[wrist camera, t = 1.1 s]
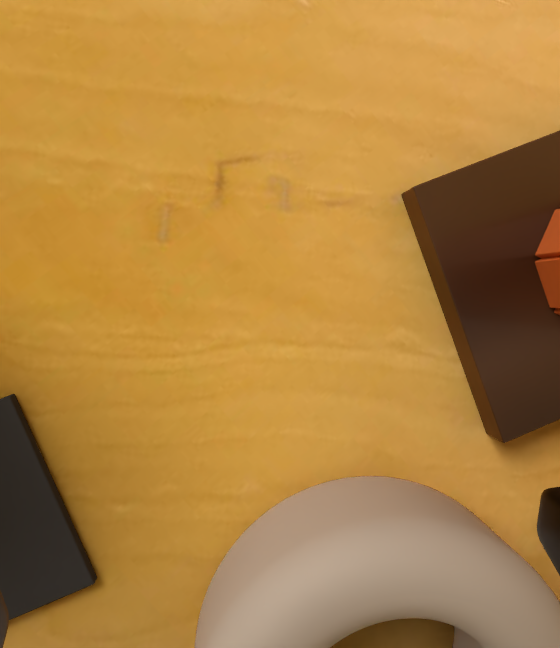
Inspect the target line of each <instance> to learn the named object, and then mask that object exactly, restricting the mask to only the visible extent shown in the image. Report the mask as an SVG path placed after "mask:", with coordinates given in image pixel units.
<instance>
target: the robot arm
mask: <svg viewBox="0 0 560 648" xmlns="http://www.w3.org/2000/svg"><path fill="white" fill-rule="evenodd" d="M537 532H538V536H539V539H540V541H541V543H542V545H543V547H544V549H545V550H546V552H547V554H548V556H549V557H550V559H551V561H552V563H553V564H554V566H555V568H556V570H557V571H558V573H559V575H560V487H555V488H549V489H546V490H544V491H543V493H542V495H541V500H540V507H539V514H538V521H537ZM8 623H9V615H8V610H7V607H6V604H5V601H4V599H3V596H2V593H1V591H0V648H3V645H4V641H5V637H6V633H7V629H8Z"/></svg>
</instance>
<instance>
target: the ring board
mask: <svg viewBox="0 0 560 648" xmlns="http://www.w3.org/2000/svg"><path fill="white" fill-rule="evenodd" d="M402 198H403V201H404V203H405V206H406V209H407V212H408V215H409V217H410V220H411V223H412V226H413V229H414V231H415V234H416V237H417V240H418V243H419V245H420V248H421V251H422V254H423V257H424V259H425V262H426V265H427V268H428V271H429V273H430V276H431V279H432V282H433V285H434V287H435V290H436V293H437V296H438V299H439V301H440V304H441V307H442V310H443V313H444V315H445V318H446V321H447V324H448V327H449V329H450V332H451V335H452V338H453V341H454V343H455V346H456V349H457V352H458V355H459V357H460V360H461V363H462V366H463V369H464V371H465V374H466V377H467V380H468V383H469V385H470V388H471V391H472V394H473V397H474V399H475V402H476V405H477V408H478V411H479V413H480V416H481V419H482V422H483V425H484V427H485V430H486V433H487V434H488V435H490V436H492V437H494V438H496V439H498V440H499V441H501V442H503V443H505V442H508V441H510V440H512V439H515V438H517V437H519V436H522V435H524V434H526V433H528V432H531V431H533V430H535V429H538V428H540V427H542V426H545V425H547V424H549V423H552V422H554V421H556V420H559V419H560V315H558V314H556V313H554V311H555V309H556V308H550V307H549V304H548V301H547V298H546V295H545V292H544V289H543V286H542V283H541V280H540V277H539V274H538V271H537V268H536V265H535V261H537V260H540V259H541V258H539V257H537V256H535V254H536V252H537V249H538V247H539V245H540V243H541V240H542V238H543V236H544V233H545V231H546V229H547V227H548V224H549V222H550V220H551V218H552V215H553V213H554V211H555V210H556V209H560V131H557V132H555V133H552V134H550V135H547V136H544V137H542V138H539V139H537V140H534V141H531V142H529V143H526V144H524V145H521V146H518V147H516V148H513V149H511V150H508V151H505V152H503V153H500V154H498V155H495V156H492V157H490V158H487V159H485V160H482V161H479V162H477V163H474V164H471V165H469V166H466V167H464V168H461V169H458V170H456V171H453V172H451V173H448V174H445V175H443V176H440V177H438V178H435V179H432V180H430V181H427V182H425V183H422V184H419V185H417V186H414V187H412V188H411V189H409V190H408V191H406V192H404V193H403V194H402Z"/></svg>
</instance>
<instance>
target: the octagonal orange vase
mask: <svg viewBox="0 0 560 648" xmlns="http://www.w3.org/2000/svg"><path fill="white" fill-rule="evenodd" d="M535 256H537V257H539V258H541V259H540V260H537V261H535V265H536V268H537V271H538V274H539V277H540V280H541V283H542V286H543V289H544V292H545V295H546V298H547V301H548V304H549V307H550V308H556V309H555V311H554V313H556V314H558V315H560V209H556V210H555V211H554V213H553V215H552V218H551V220H550V222H549V224H548V227H547V229H546V231H545V233H544V236H543V238H542V240H541V243H540V245H539V247H538V249H537V252H536V254H535Z"/></svg>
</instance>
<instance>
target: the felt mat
mask: <svg viewBox="0 0 560 648" xmlns="http://www.w3.org/2000/svg"><path fill="white" fill-rule="evenodd" d="M96 579H97V576H96V574H95V572H94V570H93V568H92V565H91V563H90V561H89V559H88V556H87V554H86V552H85V550H84V548H83V545H82V543H81V541H80V539H79V536H78V534H77V532H76V530H75V528H74V525H73V523H72V521H71V519H70V517H69V514H68V512H67V510H66V508H65V505H64V503H63V501H62V499H61V497H60V494H59V492H58V490H57V488H56V485H55V483H54V481H53V479H52V477H51V474H50V472H49V470H48V468H47V465H46V463H45V461H44V459H43V457H42V454H41V452H40V450H39V448H38V445H37V443H36V441H35V439H34V437H33V434H32V432H31V430H30V428H29V426H28V423H27V421H26V419H25V417H24V414H23V412H22V410H21V408H20V406H19V403H18V401H17V399H16V397H15V395H14V394H12V395H9V396H7V397H4V398H1V399H0V591H1V593H2V596H3V599H4V601H5V604H6V607H7V610H8V615H9V620H11V619H13V618H15V617H18V616H20V615H22V614H25V613H27V612H29V611H32V610H34V609H36V608H39V607H41V606H43V605H46V604H48V603H50V602H53V601H55V600H57V599H60V598H62V597H65V596H67V595H69V594H72V593H74V592H76V591H79V590H81V589H83V588H86V587H88V586H90V585H93V584H94V583H95V581H96Z"/></svg>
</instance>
